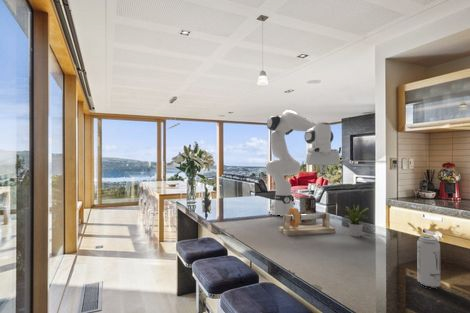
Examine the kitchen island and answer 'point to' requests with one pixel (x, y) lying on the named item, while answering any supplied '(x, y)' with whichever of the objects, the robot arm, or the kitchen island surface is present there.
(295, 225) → the orange faceted ring
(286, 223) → the pipe stand
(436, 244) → the energy drink can
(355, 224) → the house plant
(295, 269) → the kitchen island surface
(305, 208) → the coffee box
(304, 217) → the steel pipe
